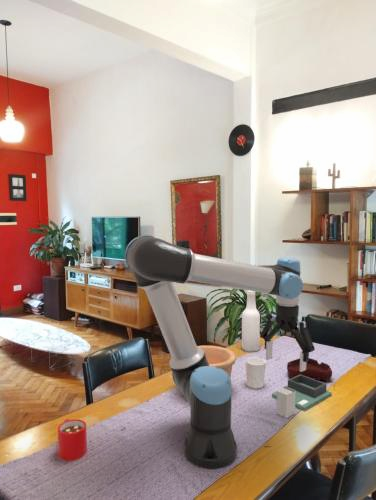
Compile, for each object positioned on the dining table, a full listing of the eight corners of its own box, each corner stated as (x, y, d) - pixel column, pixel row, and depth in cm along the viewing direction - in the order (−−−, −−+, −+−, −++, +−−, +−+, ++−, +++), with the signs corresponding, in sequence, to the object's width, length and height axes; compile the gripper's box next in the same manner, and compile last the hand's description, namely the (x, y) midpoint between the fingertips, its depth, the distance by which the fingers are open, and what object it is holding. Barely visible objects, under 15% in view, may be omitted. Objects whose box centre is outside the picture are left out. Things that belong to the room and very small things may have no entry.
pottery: (172, 400, 145) (172, 363, 143) (186, 376, 166) (186, 343, 164) (231, 407, 139) (231, 368, 138) (238, 381, 161) (238, 347, 159)
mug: (76, 434, 123) (76, 410, 122) (90, 454, 113) (90, 428, 112) (51, 443, 118) (50, 418, 118) (63, 464, 108) (62, 437, 108)
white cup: (264, 381, 161) (264, 357, 160) (266, 390, 153) (266, 365, 152) (244, 380, 162) (245, 356, 161) (245, 389, 154) (246, 364, 153)
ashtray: (325, 368, 175) (326, 357, 174) (333, 384, 159) (334, 372, 158) (284, 366, 177) (284, 355, 177) (288, 381, 161) (288, 370, 161)
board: (304, 411, 137) (304, 399, 137) (271, 396, 148) (272, 385, 147) (331, 395, 149) (331, 384, 148) (299, 383, 159) (299, 373, 159)
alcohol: (249, 345, 204) (250, 288, 201) (262, 349, 198) (264, 290, 195) (238, 348, 199) (238, 290, 196) (251, 353, 192) (252, 293, 189)
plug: (286, 417, 133) (286, 394, 132) (276, 413, 136) (277, 390, 135) (294, 412, 136) (295, 389, 135) (285, 408, 139) (285, 385, 138)
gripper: (327, 309, 127) (324, 372, 129) (264, 296, 145) (262, 352, 147) (315, 312, 122) (312, 379, 124) (251, 299, 140) (249, 356, 142)
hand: (285, 364), depth 135 cm, fingers open, 13 cm apart
